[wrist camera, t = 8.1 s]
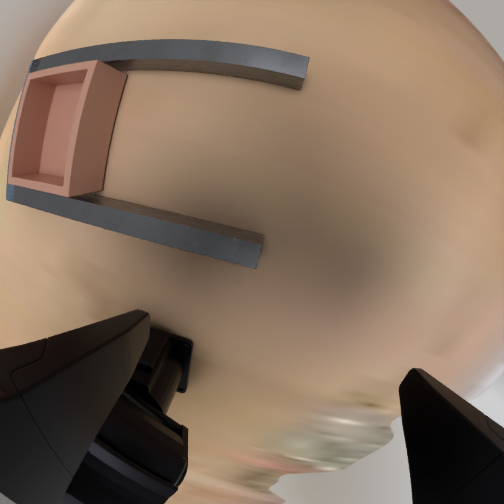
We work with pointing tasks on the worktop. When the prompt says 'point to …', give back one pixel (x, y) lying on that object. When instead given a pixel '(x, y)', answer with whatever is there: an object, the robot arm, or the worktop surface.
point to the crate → (65, 128)
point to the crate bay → (146, 218)
